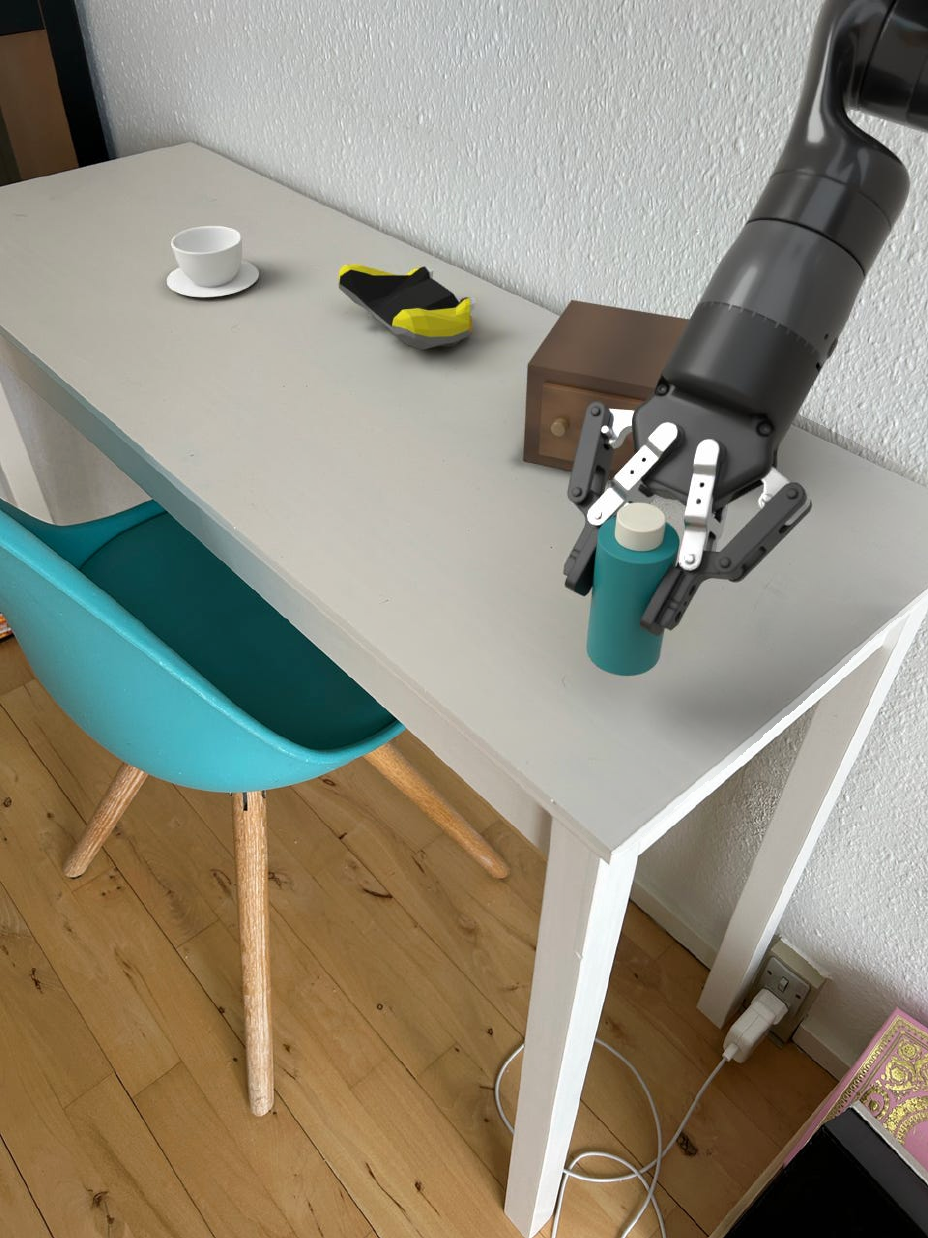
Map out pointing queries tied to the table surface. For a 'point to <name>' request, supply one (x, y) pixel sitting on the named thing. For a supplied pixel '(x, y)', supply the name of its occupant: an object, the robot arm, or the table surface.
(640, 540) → the water bottle
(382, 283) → the multicoloured piece
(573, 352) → the storage box
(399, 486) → the table surface
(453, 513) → the table surface
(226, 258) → the teacup
